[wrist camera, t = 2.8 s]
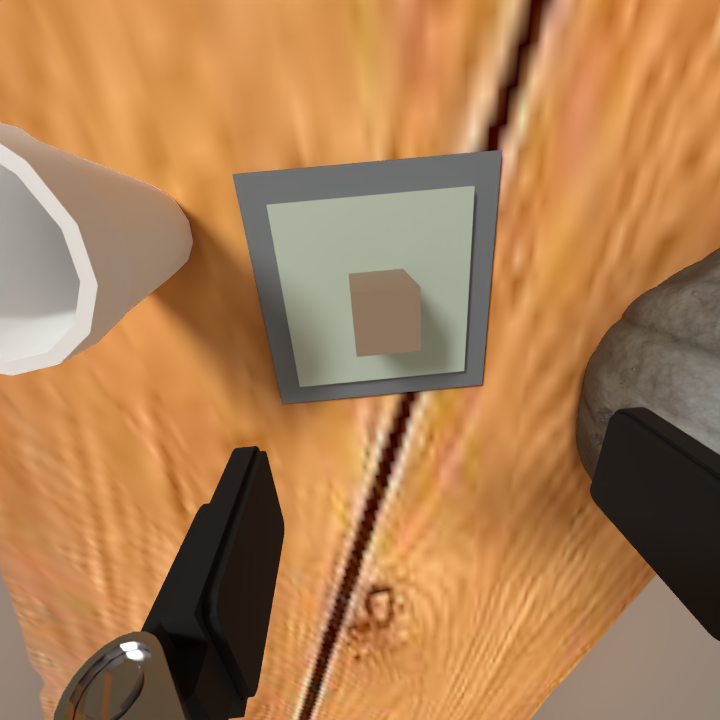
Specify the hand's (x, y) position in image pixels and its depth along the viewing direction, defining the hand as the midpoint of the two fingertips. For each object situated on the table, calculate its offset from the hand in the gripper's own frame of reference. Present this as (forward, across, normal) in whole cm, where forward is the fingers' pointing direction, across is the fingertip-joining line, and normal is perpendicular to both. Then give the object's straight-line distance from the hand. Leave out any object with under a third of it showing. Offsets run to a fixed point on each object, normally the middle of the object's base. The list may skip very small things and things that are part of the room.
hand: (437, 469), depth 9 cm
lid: (+19, 0, 0) cm, 19 cm away
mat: (+19, 0, 0) cm, 19 cm away
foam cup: (+19, +16, -6) cm, 26 cm away
